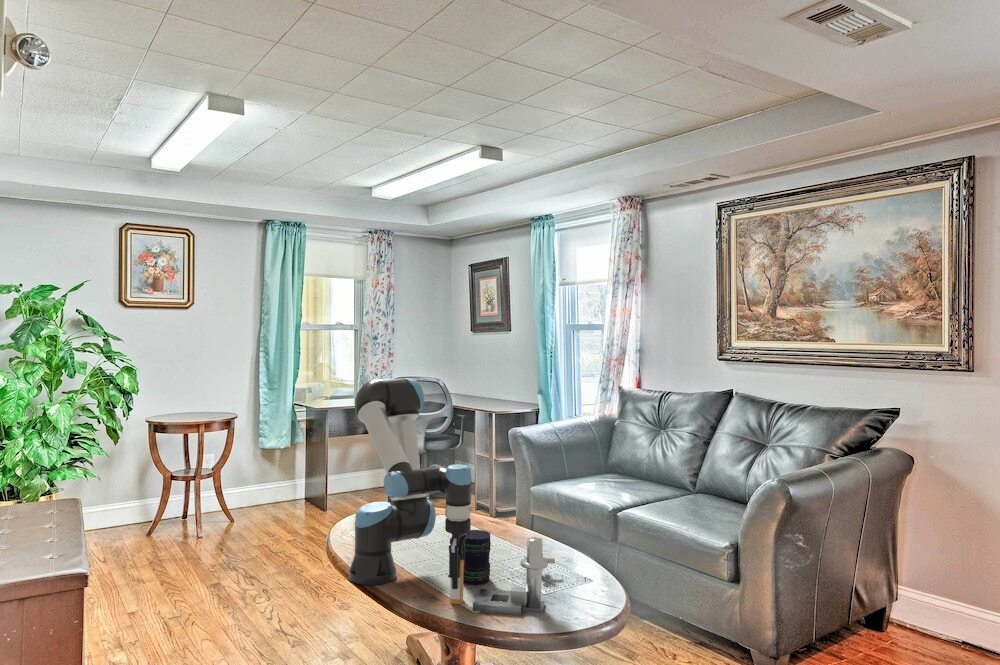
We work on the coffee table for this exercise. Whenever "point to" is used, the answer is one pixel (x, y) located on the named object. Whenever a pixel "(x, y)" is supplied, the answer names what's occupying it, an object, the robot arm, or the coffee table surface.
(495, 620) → the coffee table surface
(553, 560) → the pipe connector
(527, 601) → the rosette node
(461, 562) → the tan rectangular block
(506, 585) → the coffee table surface
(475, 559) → the storage jar
